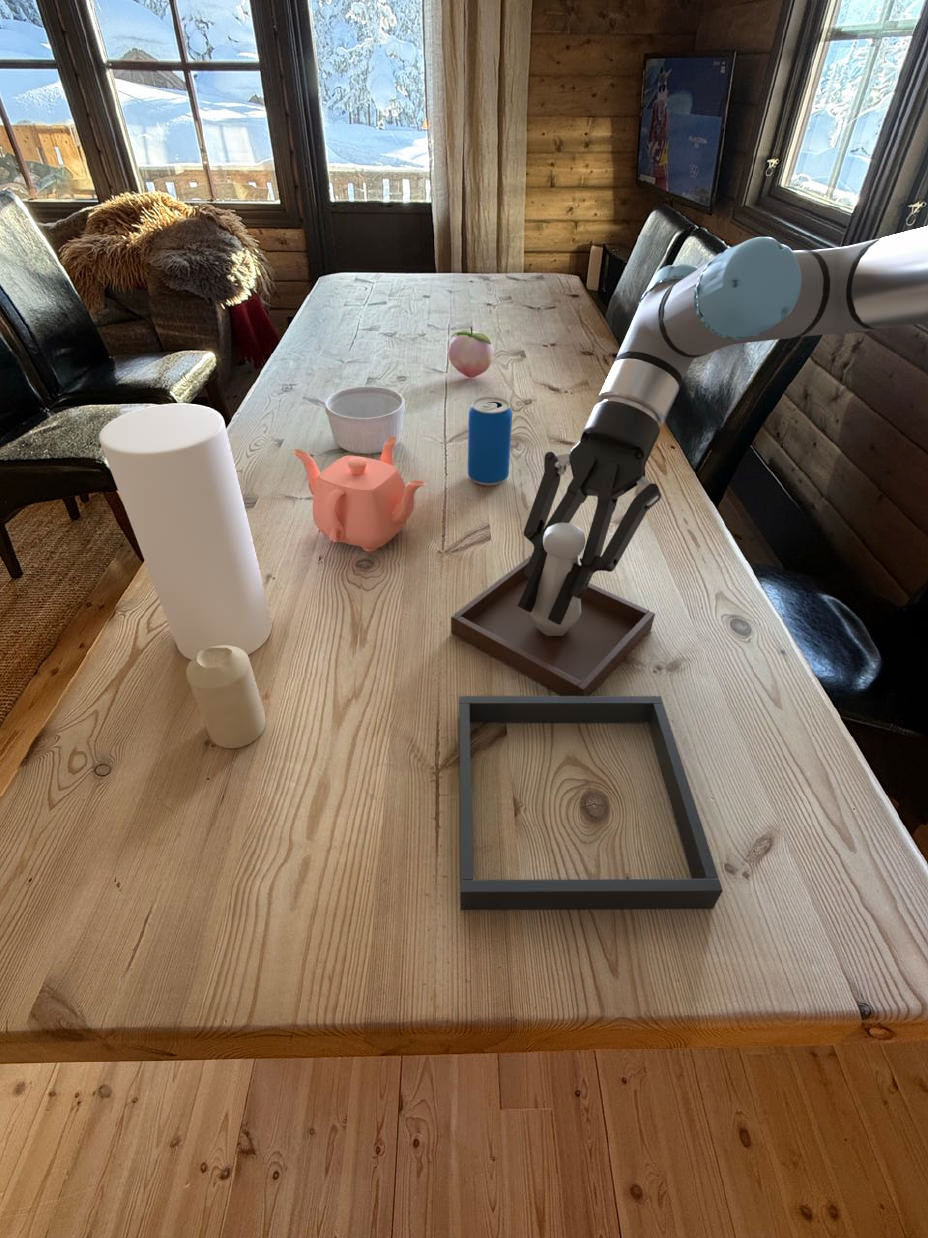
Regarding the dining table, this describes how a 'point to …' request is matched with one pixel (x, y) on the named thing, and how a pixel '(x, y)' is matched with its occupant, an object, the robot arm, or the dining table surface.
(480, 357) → the decorative fruit
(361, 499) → the teapot
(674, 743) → the open gray frame
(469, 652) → the dining table surface
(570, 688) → the tray
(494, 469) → the beverage can
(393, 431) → the ramekin
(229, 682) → the candle
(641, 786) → the dining table surface
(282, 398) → the dining table surface
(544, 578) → the salt shaker
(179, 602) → the tall pillar cylinder
